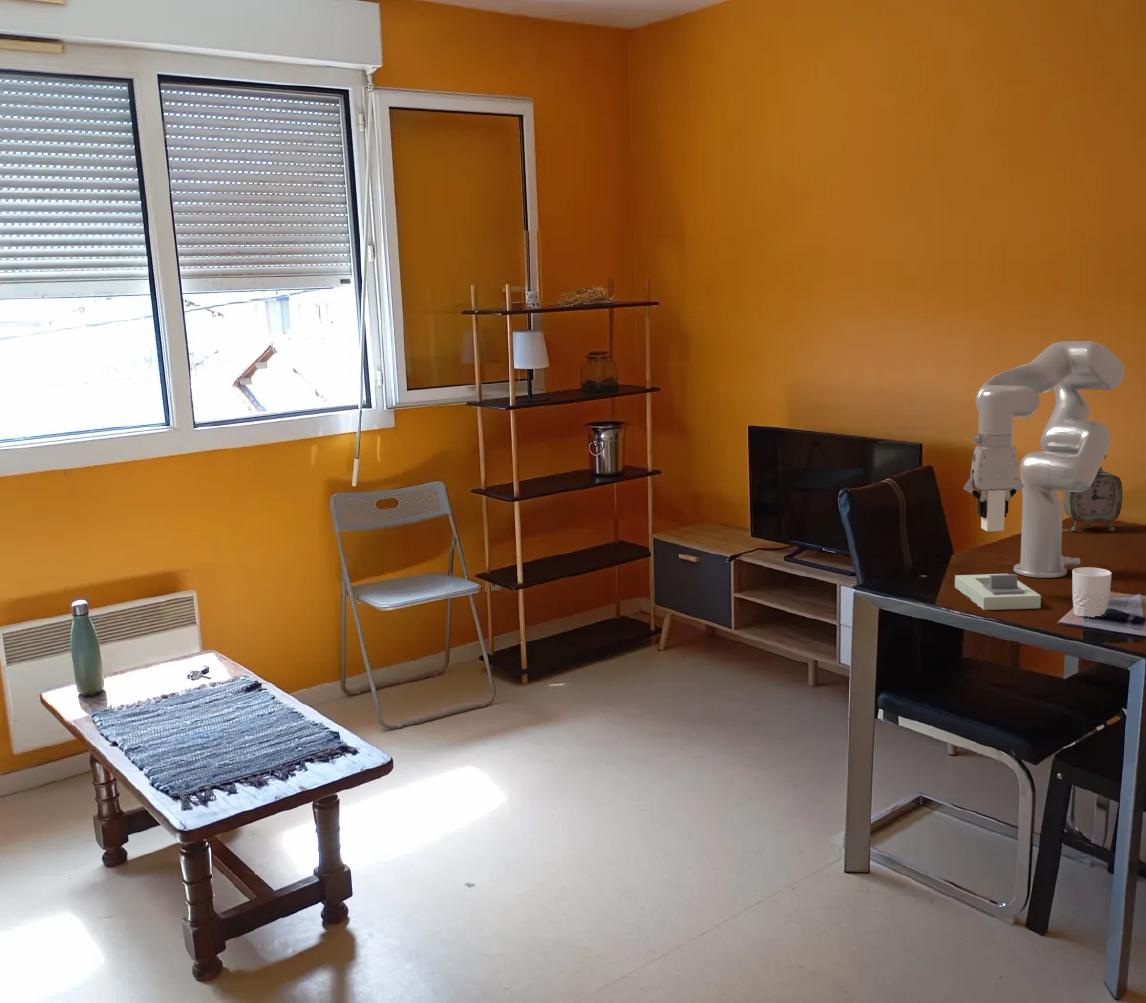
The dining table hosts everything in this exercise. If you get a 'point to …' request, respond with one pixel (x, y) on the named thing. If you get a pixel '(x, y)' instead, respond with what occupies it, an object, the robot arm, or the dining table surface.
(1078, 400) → the robot arm
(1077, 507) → the tabletop clock
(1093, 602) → the white cup
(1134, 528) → the dining table surface
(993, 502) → the plug
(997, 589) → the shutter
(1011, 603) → the socket board
